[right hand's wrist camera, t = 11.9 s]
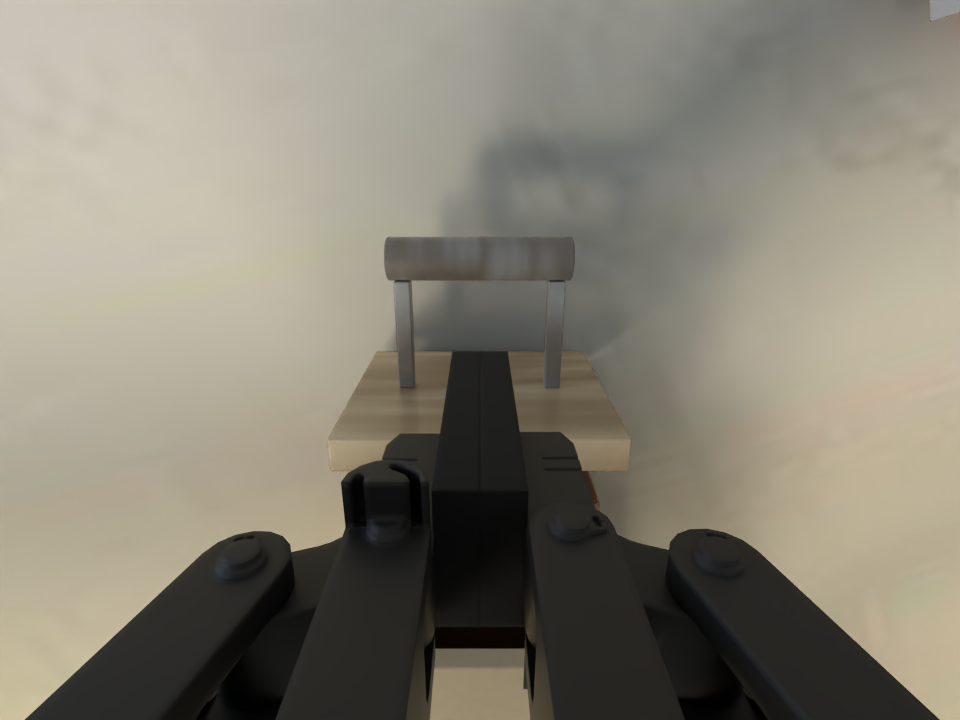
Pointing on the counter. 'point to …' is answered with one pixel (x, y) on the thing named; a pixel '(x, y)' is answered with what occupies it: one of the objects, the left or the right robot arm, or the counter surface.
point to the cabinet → (479, 685)
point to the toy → (943, 8)
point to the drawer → (535, 374)
